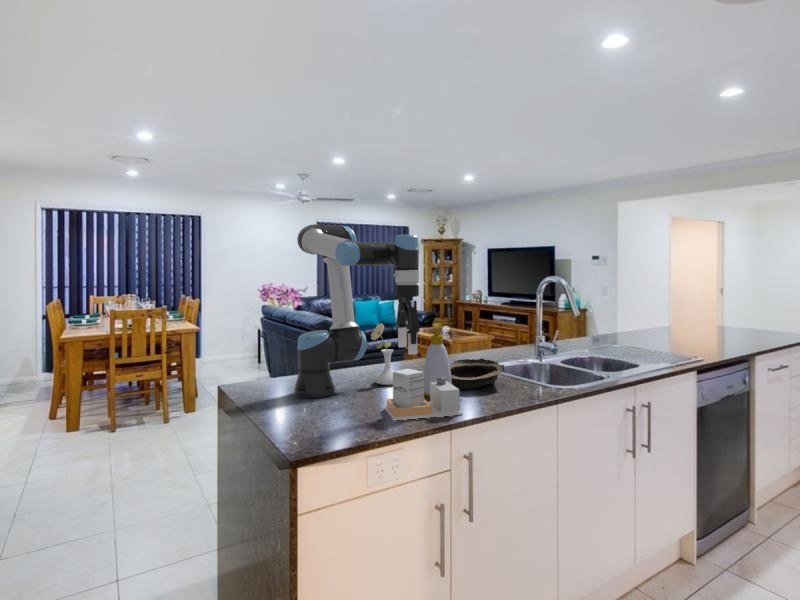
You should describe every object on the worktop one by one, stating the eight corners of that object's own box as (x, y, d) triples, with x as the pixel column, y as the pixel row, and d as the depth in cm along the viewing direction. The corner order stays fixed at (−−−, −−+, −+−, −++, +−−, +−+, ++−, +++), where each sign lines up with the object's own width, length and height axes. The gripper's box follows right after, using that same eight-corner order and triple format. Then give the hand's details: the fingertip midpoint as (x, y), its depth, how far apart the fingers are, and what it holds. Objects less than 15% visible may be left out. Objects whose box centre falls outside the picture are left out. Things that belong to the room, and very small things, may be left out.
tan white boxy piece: (393, 421, 144) (393, 388, 143) (384, 408, 158) (384, 378, 157) (462, 415, 149) (461, 383, 148) (447, 403, 163) (447, 374, 162)
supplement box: (392, 410, 152) (391, 371, 152) (409, 405, 157) (408, 367, 157) (408, 415, 147) (407, 374, 146) (425, 410, 152) (424, 371, 151)
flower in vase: (390, 379, 201) (389, 320, 199) (407, 384, 192) (406, 322, 190) (365, 384, 193) (363, 323, 191) (381, 389, 184) (380, 325, 182)
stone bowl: (500, 378, 199) (500, 356, 198) (507, 398, 174) (508, 374, 173) (441, 377, 201) (441, 355, 200) (440, 397, 177) (440, 372, 175)
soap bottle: (420, 397, 170) (419, 325, 169) (423, 390, 182) (422, 321, 180) (452, 398, 169) (451, 325, 167) (453, 390, 180) (452, 321, 179)
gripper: (387, 282, 161) (387, 344, 163) (404, 285, 137) (405, 358, 138) (408, 282, 163) (409, 343, 164) (429, 285, 139) (430, 357, 140)
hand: (407, 350), depth 151 cm, fingers open, 13 cm apart
